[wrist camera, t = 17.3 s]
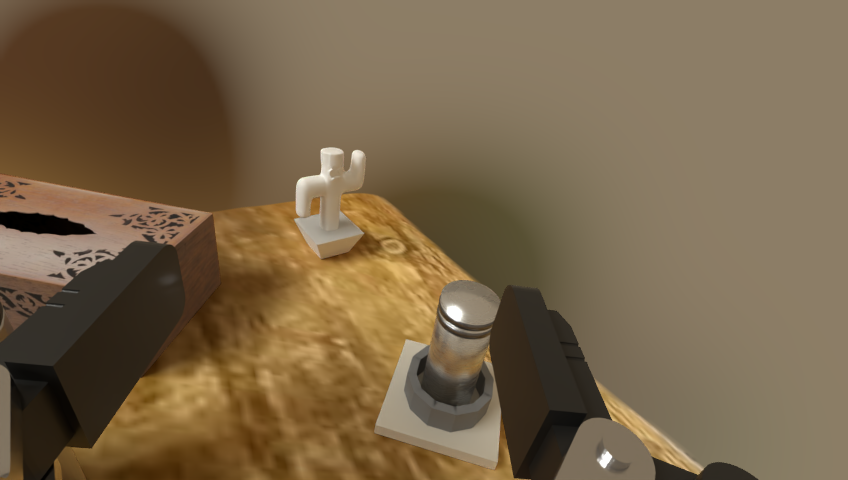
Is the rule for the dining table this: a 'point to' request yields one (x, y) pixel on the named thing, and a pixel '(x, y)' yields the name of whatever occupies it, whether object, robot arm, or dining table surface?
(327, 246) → the figurine
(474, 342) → the piston
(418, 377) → the ring stand
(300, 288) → the dining table surface
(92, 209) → the tissue box cover
